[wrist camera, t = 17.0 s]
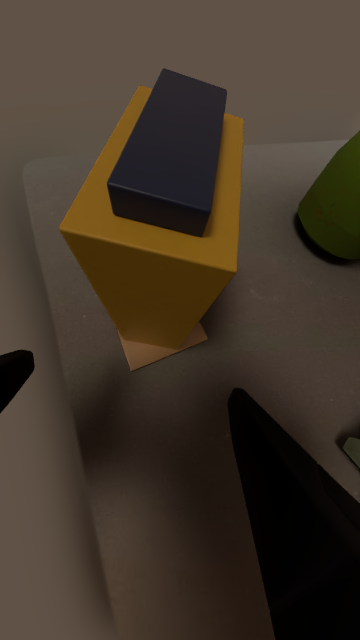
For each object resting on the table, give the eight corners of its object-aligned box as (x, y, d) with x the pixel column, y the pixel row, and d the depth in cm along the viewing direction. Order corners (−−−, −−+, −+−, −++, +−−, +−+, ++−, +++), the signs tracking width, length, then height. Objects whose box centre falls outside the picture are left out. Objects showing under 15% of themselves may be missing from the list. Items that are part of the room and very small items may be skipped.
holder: (177, 350, 15) (255, 249, 4) (123, 339, 14) (36, 193, 3) (190, 272, 18) (255, 89, 7) (145, 261, 17) (138, 48, 6)
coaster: (207, 340, 16) (208, 339, 15) (131, 371, 14) (130, 371, 14) (176, 277, 18) (177, 274, 17) (106, 297, 16) (104, 295, 15)
